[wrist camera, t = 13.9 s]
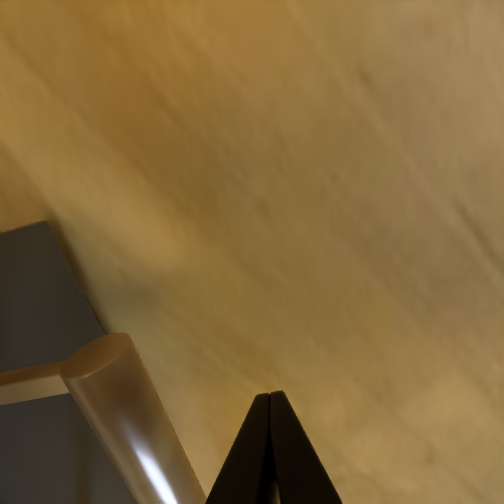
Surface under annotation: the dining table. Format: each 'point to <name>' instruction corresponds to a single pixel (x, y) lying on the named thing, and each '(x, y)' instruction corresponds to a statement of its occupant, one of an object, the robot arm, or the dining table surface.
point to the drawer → (75, 394)
